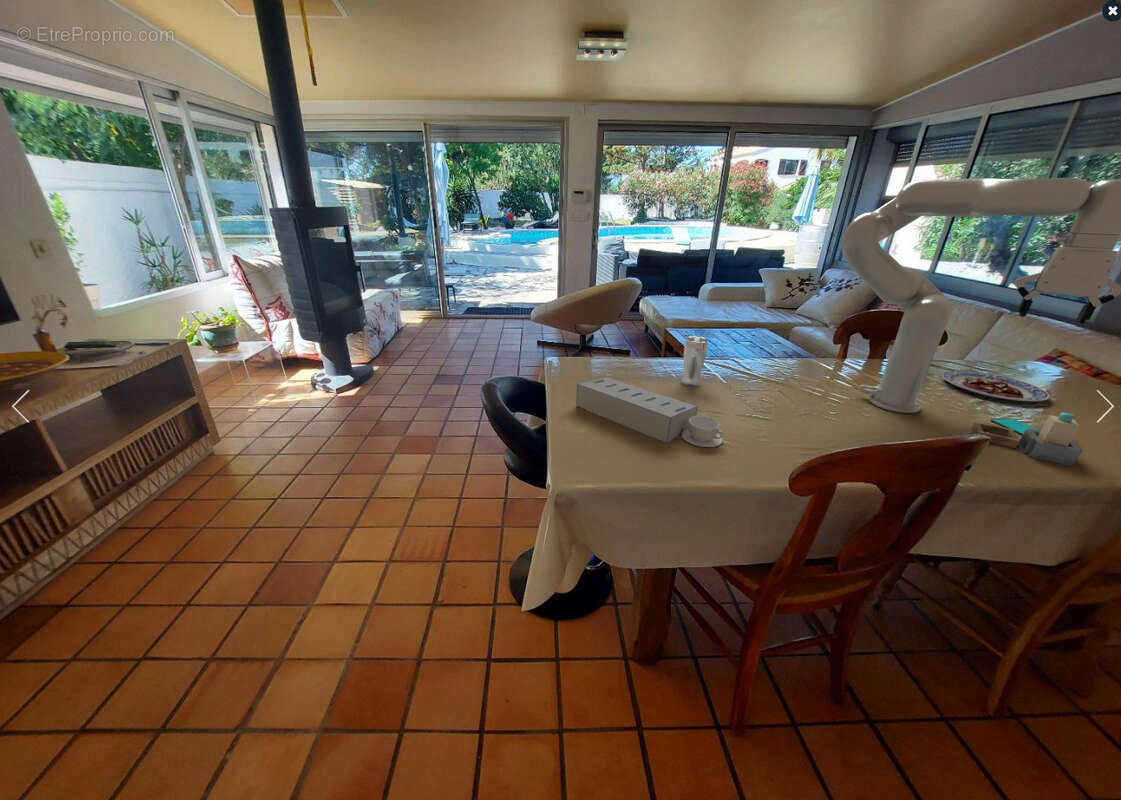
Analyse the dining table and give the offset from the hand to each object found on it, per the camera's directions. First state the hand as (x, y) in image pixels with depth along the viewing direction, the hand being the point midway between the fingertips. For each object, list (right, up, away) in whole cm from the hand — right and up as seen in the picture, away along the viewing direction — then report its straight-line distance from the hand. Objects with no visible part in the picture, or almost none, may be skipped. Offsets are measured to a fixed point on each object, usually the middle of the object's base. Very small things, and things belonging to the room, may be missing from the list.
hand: (1049, 319), depth 100 cm
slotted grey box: (-96, -24, +18) cm, 101 cm away
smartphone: (+8, -29, +11) cm, 32 cm away
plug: (+1, -32, +2) cm, 32 cm away
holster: (-5, -29, +9) cm, 31 cm away
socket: (+1, -32, +2) cm, 32 cm away
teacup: (-81, -29, +7) cm, 86 cm away
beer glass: (-73, -14, +40) cm, 85 cm away
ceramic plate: (+25, -16, +39) cm, 49 cm away
